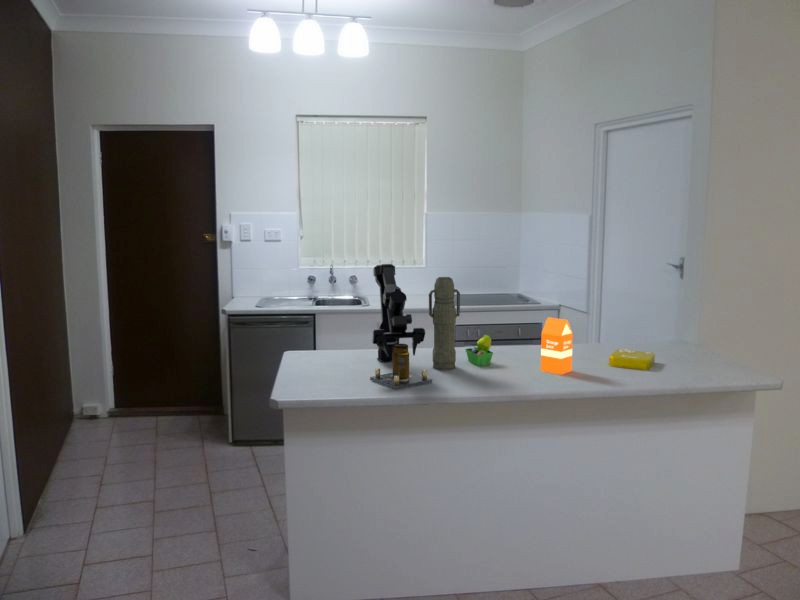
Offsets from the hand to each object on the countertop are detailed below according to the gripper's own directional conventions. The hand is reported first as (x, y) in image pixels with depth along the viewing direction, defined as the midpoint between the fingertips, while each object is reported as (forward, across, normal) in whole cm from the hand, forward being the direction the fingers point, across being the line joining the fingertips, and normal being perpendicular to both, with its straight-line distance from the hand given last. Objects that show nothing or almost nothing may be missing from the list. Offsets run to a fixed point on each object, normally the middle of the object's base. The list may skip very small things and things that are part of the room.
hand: (401, 355), depth 239 cm
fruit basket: (-9, +36, +23) cm, 43 cm away
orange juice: (+4, +60, +11) cm, 61 cm away
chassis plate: (+6, 0, +8) cm, 10 cm away
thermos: (-6, +20, +20) cm, 29 cm away
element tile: (+1, +93, +14) cm, 94 cm away
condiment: (+5, 0, +7) cm, 9 cm away
